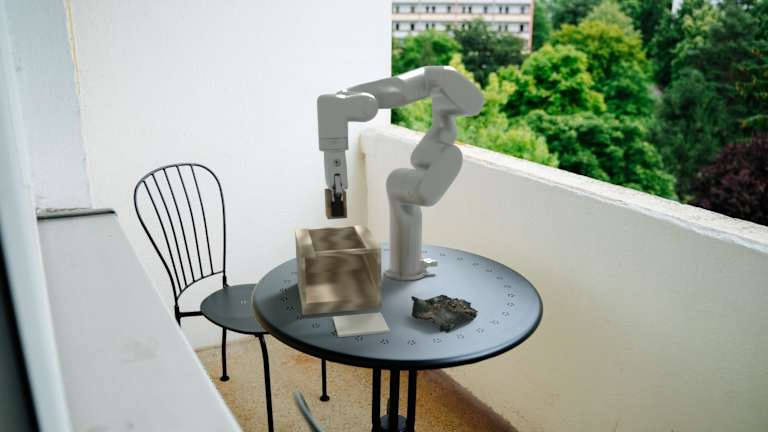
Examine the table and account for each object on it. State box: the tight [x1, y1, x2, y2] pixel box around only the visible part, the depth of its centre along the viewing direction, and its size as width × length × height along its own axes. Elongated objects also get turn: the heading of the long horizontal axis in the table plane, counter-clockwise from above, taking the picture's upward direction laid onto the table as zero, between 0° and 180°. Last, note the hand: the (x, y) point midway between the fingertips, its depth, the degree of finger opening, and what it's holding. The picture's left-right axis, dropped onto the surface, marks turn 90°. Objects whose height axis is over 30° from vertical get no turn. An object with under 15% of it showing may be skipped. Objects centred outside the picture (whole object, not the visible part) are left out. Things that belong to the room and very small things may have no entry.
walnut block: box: [324, 187, 348, 220], centre depth 151 cm, size 5×5×7 cm
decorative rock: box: [410, 294, 478, 334], centre depth 144 cm, size 19×6×15 cm
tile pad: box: [332, 312, 390, 338], centre depth 139 cm, size 12×10×1 cm
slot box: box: [294, 224, 383, 316], centre depth 155 cm, size 20×22×16 cm
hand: (336, 212), depth 151 cm, fingers closed on walnut block, 5 cm apart
